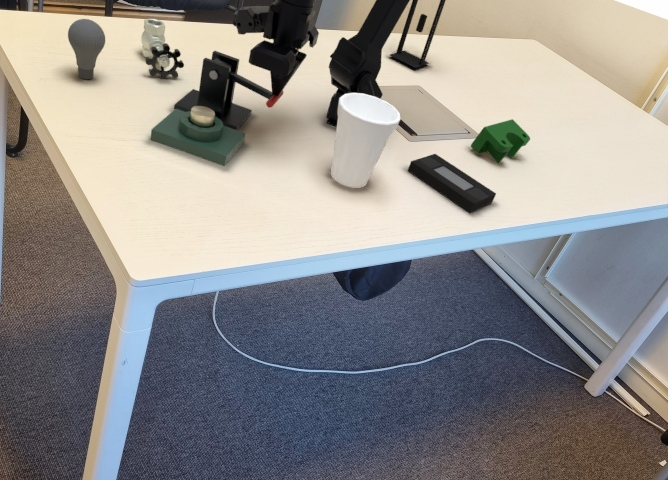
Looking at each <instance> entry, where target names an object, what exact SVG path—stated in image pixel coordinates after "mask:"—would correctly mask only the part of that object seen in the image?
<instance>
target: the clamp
mask: <svg viewBox="0 0 668 480" xmlns="http://www.w3.org/2000/svg"><path fill="white" fill-rule="evenodd" d="M530 141H531V137H530V135H529V134H528V133H527V132H526V131H525V130H524V129H523V128H522V127H521V126H520V125H519V124H518V123H517V122H516V121H515V120H514V119H513V118H512V119H508V120H505V121H501V122H497V123H494V124H490V125H486V126H483V128H482V129H481V130H480V132H479V133H478V134H477V136H476V137H475V138H474V140H473V141H472V142H471V145H470V148H471V149H472V150H473V151H474V152H475V153H476V154H477V155H481V154H484V153H488V154H489V155H490V156H491V157H492V158H493V159H494V160H495V161H496V162H497V163H498V164H500V163H501V162H502V160H503V159H504V158H505V157H506V156H508V157H509V158H510V159H513V158H514V157H515V156H516V154H517V153H518V152H519V151H520V150H521V148H522V147H525V146H527V144H528V143H529V142H530Z"/></svg>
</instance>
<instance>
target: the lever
mask: <svg viewBox="0 0 668 480" xmlns="http://www.w3.org/2000/svg"><path fill="white" fill-rule="evenodd" d="M214 61H217V62H220V63H222V64H225V65H228V66H231V67H232V65H231V64H229V63H227V62H225V61H223V60H221V59H219V58H216V59H214ZM229 79H230V80H232V81H234V82H236V83H235V84H238V85H240V86H242V87H244V88H246V89H247V90H249V91H252V92H254V93H255V94H257V95H260V96H261V97H262V98H266V99H267V101H265V105H266V107H267V108H270V109H271V108H273V107H274V106H275V105H276V103H278V101H279V100H280V99H281V97H282V96H283V95H284V89H283V90H282V92H281V93H280V95H279V96H275V95H273V94H272V90H270V89H267V88H265V87H263V86H261V85H259V84H258V83H256V82H254V81H252V80H249V79H248V78H246V77H244V76H242V75H240V74H238V73H237V74H236V73H234V72H232V71H230V77H229Z"/></svg>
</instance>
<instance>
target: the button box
mask: <svg viewBox="0 0 668 480" xmlns="http://www.w3.org/2000/svg"><path fill="white" fill-rule="evenodd" d="M190 115H191V111H188V112H184V111H181V110H179V109H174V110H172V111H171V112H170V113H168V115H166V116H165V117H164V118H163V119H162V120H161V121H160V122H158V123H157V124H156V125H155V126H154V127H152V128H151V131H150V141H153V142H155V143H159V144H161V145H164V146H167V147H169V148H172V149H175V150H178V151H181V152H184V153H185V154H190V155H192V156H195V157H198V158H201V159H204V160H207V161H209V162H211V163H215V164H217V165H220V166H223V167H225V166H226V165H227V164H228V163H229V162H230V160H232V158H233V157H234V156H235V154H236V153H237V152H238V151H239V150H240V148H241V147H242V146H243V145H244V144H245V140H246V136H247V133H245V132H244V131H240V130H238V129H237V130H235V129H232V128H229V127H226V126H223V123H222V121H221V120H220V119H219V118H217V117H216V116H215V118H214V124H213V127H211V128H201V127H198V126H195V125H193V124H191V123H190Z"/></svg>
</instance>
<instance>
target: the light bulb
mask: <svg viewBox="0 0 668 480" xmlns="http://www.w3.org/2000/svg"><path fill="white" fill-rule="evenodd" d="M67 39H68V42H69V44H70V47H71V49H72V50H73V52H74V55H75V59H76V60H75V61H76V65H77V75H78V77H79V78H81V79H82V80H91V79H93V78H94V71H95V68H96V64H97V59H98V57H99V54H100V53H101V52H102V51H103V49H104V47H105V45H106V35H105V32H104V29H103V27H101V26H100V25H99V24H98V23H97V22H95V21H93V19H92V20H91V19H88V18H80V19H76V20H75V21H74V22H72V24H70V26H69V28H68V30H67Z"/></svg>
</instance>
